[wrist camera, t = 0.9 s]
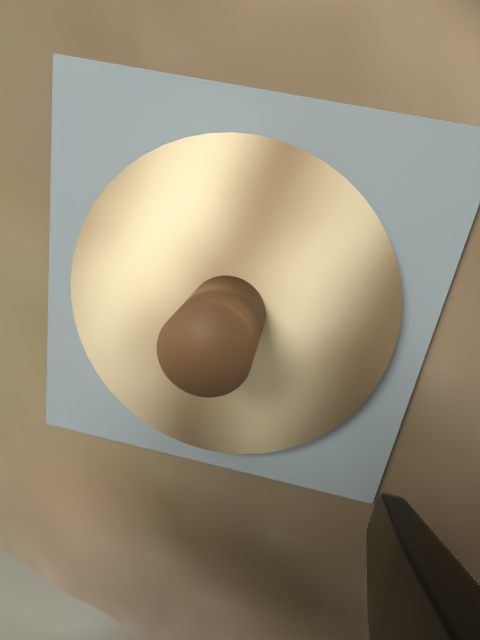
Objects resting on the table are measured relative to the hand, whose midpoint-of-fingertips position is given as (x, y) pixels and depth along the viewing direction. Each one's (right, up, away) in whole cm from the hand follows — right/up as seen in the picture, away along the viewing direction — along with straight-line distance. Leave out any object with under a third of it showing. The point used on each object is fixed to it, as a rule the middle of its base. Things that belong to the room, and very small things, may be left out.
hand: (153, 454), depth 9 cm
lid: (+1, +3, +9) cm, 10 cm away
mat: (+1, +3, +10) cm, 10 cm away
